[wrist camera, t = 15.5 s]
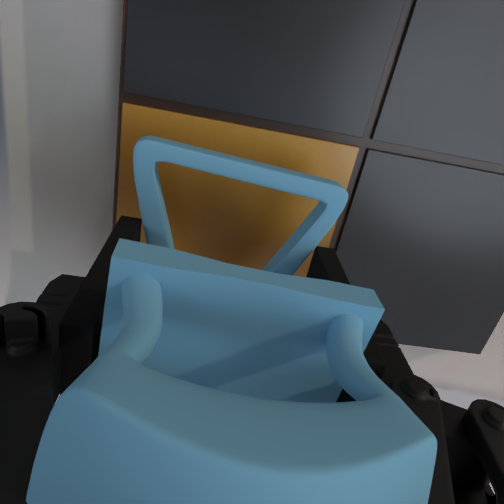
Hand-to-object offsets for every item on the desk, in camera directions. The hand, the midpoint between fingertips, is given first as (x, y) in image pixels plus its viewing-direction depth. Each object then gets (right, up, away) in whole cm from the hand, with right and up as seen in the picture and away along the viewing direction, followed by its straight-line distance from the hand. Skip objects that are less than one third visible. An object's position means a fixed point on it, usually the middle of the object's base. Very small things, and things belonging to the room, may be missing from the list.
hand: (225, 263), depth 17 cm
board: (+6, +5, +2) cm, 8 cm away
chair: (0, 0, +1) cm, 1 cm away
